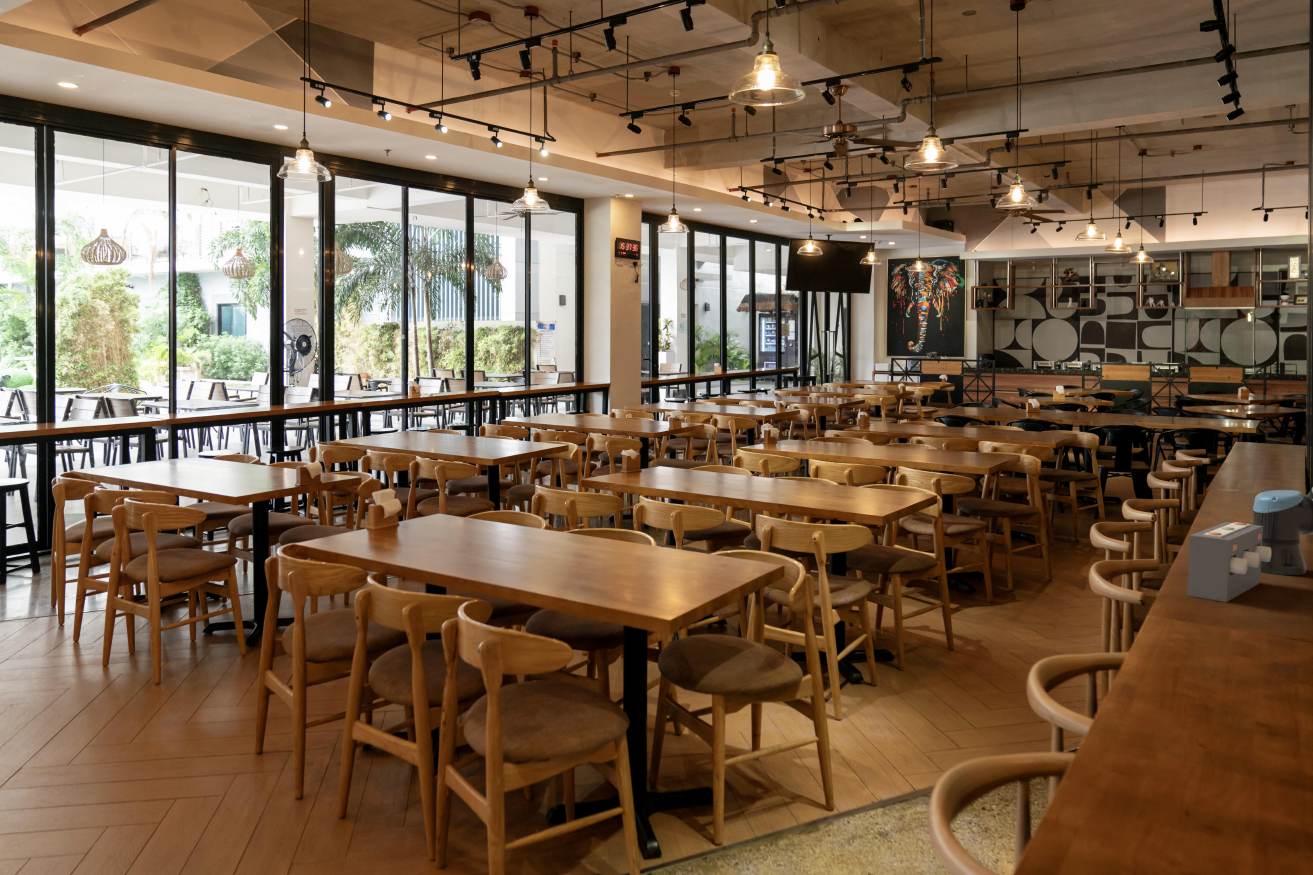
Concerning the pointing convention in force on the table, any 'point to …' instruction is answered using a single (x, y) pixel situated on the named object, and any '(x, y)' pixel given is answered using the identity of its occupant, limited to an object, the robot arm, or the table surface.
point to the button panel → (1222, 561)
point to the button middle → (1252, 558)
